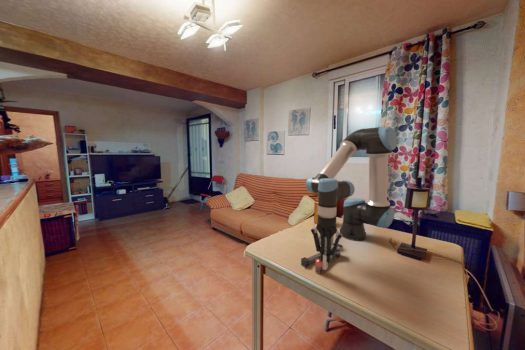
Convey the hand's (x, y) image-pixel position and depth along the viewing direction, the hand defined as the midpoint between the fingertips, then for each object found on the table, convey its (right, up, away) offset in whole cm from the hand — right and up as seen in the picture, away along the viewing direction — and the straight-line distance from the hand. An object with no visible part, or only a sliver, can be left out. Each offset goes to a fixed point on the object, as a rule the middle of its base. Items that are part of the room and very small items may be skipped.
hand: (325, 268), depth 85 cm
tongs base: (+2, -1, +9) cm, 10 cm away
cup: (+7, +1, +24) cm, 25 cm away
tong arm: (+4, -1, +8) cm, 9 cm away
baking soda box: (+16, +5, +58) cm, 60 cm away
